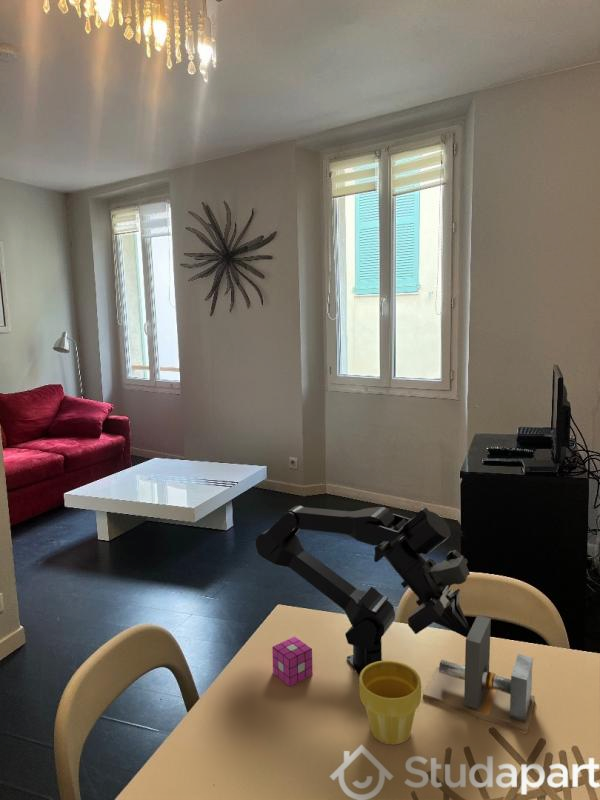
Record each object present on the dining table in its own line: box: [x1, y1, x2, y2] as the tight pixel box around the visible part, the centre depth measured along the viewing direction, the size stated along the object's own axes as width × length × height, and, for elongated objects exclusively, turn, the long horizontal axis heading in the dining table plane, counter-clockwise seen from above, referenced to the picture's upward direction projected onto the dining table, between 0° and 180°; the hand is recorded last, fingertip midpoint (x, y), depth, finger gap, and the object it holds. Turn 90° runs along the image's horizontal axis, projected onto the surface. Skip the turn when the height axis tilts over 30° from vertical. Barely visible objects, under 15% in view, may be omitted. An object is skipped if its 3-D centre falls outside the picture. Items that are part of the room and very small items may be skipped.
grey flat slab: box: [464, 615, 492, 709], centre depth 100 cm, size 2×9×12 cm, turn 150°
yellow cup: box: [358, 660, 422, 746], centre depth 94 cm, size 10×10×10 cm
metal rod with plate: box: [438, 653, 534, 723], centre depth 100 cm, size 16×7×8 cm, turn 60°
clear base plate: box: [422, 666, 536, 734], centre depth 101 cm, size 18×9×1 cm, turn 60°
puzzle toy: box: [271, 636, 313, 688], centre depth 110 cm, size 6×6×6 cm
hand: (470, 635), depth 100 cm, fingers closed, pressing on grey flat slab
